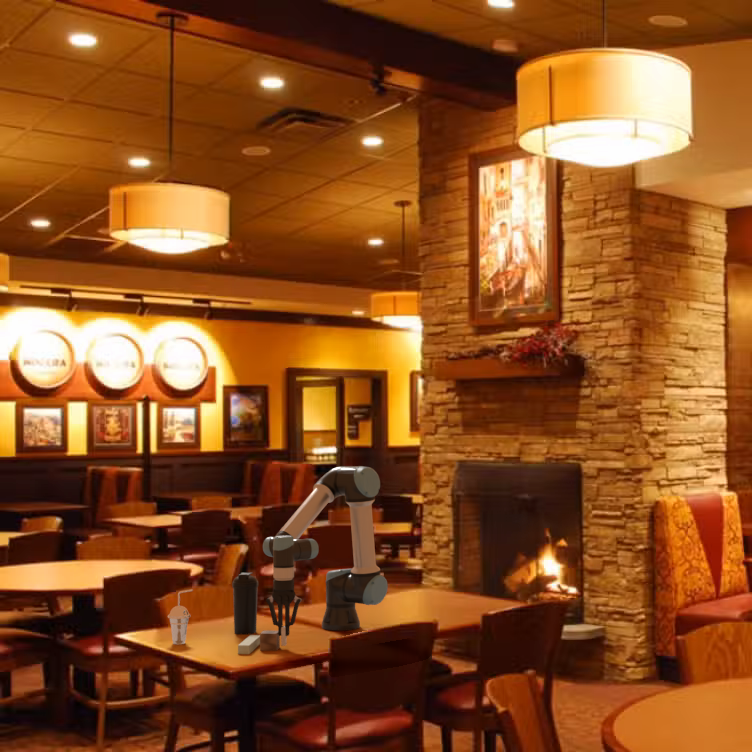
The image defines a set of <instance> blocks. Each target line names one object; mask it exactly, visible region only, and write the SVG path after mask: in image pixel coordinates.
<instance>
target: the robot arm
mask: <svg viewBox="0 0 752 752" xmlns="http://www.w3.org/2000/svg"><path fill="white" fill-rule="evenodd" d="M380 488H381V480H380V476H379V474H378V473H377V471H376V470H375V469H374V468H372V467H369V466H363V465H358V466H355V465H354V466H353V465H341V466H336V467H334V468H331V469H330V470H328V472H326V473H324V475H323V476H322V477H320V478H319V479H318V480H317V481H316V483H314V485H313V487H312V489H313V490H312V492H311V493H310V494H309V495H308V496H307V497H306V499H305V500H304V501H303V502H302V503H301V504H300V506H299V507H298V508H297V510H296V511H294V513H293V514H292V515H291V517H290V518H289V519H288V520H287V522H286V523H285V524H284V525H283V526H282V527H281V528H280V530H279V531H278V532H277V533H276V534H275V536H268V537H266V538H265V539H264V540H263V543H262V551H263V553H264V554H265V555H266V556H268V557H271V558H272V559H273V562H272V563H273V567H272V569H273V570H272V571H273V573H272V575H273V576H272V577H273V581H272V582H273V583H272V584H273V587H272V590H273V591H272V594H271V596H269V597H268V598H266V599H265V602H266V603H267V605H268V607H269V608H268V609H269V611H270V615H271V620H272V625H274V626H276V627H278V630H277V631H278V635H279V636H280V637H281V639H280V642H281V643H280V645H281V647H282V646H283V647H284V646H285V647H286V646H287V643H288V642H287V639H288V638H287V637H288V636H289V635H290V627H291V626H293V625H294V624H295V623H296V619H297V614H298V609H299V605H300V603H301V602H302V600H303V599H302V598H301V597H298V596H297V595H296V592H295V580H294V578H295V562H296V561H304V560H305V561H306V560H308V561H309V560H312V559H315V558H317V556H318V554H319V551H320V550H319V544H318V542H317V540H315V539H313V538H303V539H302V538H301V537H302V535H303V534H304V533H305V531H306V530H307V529H308V528H309V527H310V525H311V524H312V523H313V522H314V520H315V519H316V518H317V517H318V516H319V515H320V513H321V512H322V510H323V509H324V508H325V507H326V506H327V504H328V503H333V502H334V500H335V499H336V498H338V497H342V496H344V499H345V503H346V504H347V505H348V506H349V515H350V524H351V525H350V527H351V541H352V542H351V543H352V555H353V557H352V558H353V567H352V568H342V569H341V568H340V569H333V570H329V571H327V572H326V575H325V577H326V580H325V603H326V604H325V605H326V607H325V611H324V615H323V618H322V621H321V628H322V629H323V630H326V631H327V630H328V631H339V632H340V631H353V630H352V629H354V630H357V628H358V629H360V628H361V627H360V626H361V622H360V617H359V615H358V611H357V608H356V604H360V605H366V606H377V605H378V604H380V603H382V601H383V600H384V599H385V597H386V595H387V592H388V581H387V579H386V577H385V576H383V575H382V573H381V568H380V567H379V566H378V565H377V561H376V549H375V535H374V533H375V532H374V521H373V519H374V517H373V510H372V509H373V508H372V504H373V503H374V502H375V500H376V497H375V496H377V495H378V493H379V490H380ZM300 538H301V539H300ZM274 601H275V603H276V604H277V613H276V609H275V605H274ZM293 602H294V605H293V611H292V613H291V616H290V608H291V603H293ZM283 606H284V607H283ZM283 608H284V610H283ZM283 611H284V614H283ZM283 615H284V617H285V618H284V617H283ZM290 617H291V618H290ZM283 619H284V620H283ZM283 623H284V624H283Z"/></svg>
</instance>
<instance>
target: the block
mask: <svg viewBox="0 0 752 752" xmlns="http://www.w3.org/2000/svg"><path fill="white" fill-rule="evenodd" d="M259 635H260V645H259V650H260V651H269V652H270V651H274V652H275V651H278V649H280V648H281V647H280V645H281V643H280V642H281V639H280V637H281V636H279V635H278V630H262V631H261V632H260V633H259Z"/></svg>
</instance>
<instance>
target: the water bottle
mask: <svg viewBox="0 0 752 752" xmlns="http://www.w3.org/2000/svg"><path fill="white" fill-rule="evenodd" d="M251 574H253V572H240V574H238V576H236V577H234V579H233V581H232V583H231V586H232V589H233V591H232V595H233V625H234V626H233V632H234V634H236V635H255V634H256V633H257V622H258V621H257V620H258V617H257V616H258V615H257V614H258V587H259V580H258V579H257V578H256V577H255V576H253V575H251Z"/></svg>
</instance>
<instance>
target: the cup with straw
mask: <svg viewBox="0 0 752 752" xmlns="http://www.w3.org/2000/svg"><path fill="white" fill-rule="evenodd" d="M193 591H194V589H193V588H191V589H186V590H185V589H184V590H180V591H178V593H177V605H176V606H174V607H172V608H171V609H170V612H169V614H168V615H167V618H168V619H169V623H170V629H171V638H172V644H173V645H177V646H178V645H184V644H186V640H187V631H188V623H189V618H191V613H189V611H188V608H186V607H185V606H184V605H180V604H181V602H180V601H181V596H180V595H181V594H182V593H189V592H193Z"/></svg>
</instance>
